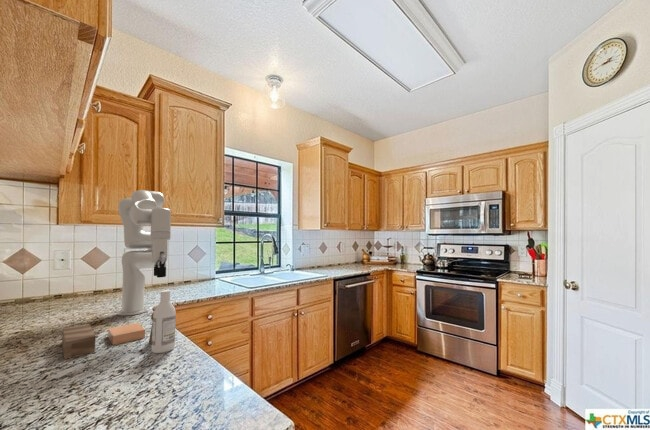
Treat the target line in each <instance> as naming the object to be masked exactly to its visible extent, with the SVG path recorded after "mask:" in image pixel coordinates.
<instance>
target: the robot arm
mask: <svg viewBox="0 0 650 430" xmlns="http://www.w3.org/2000/svg"><path fill="white" fill-rule="evenodd" d="M164 204H165V196H164V194H163V193H161V192H160V191H153V190H145V189H139V190H135V191H133V192H132V194H131V197H129V198H128V197H127V198H126V197H125V198H122V199H120V201H119V202H118V213H119V217H120V219H121V223H122V224H123V239H124V240H123V241H124V246H125V248H126V249H129V251H126V252H124V253H123V254H122V255H121V265H122V291H121V308H120V310H118V311H117V312H116V313H117V315H118V316H124V317H125V316H135V315H140V314H143V313H146V312H147V311H148V308H147V307H144V305H145V285H146V282H145V281H146V278H145V277H146V276H145V274H144V273H143V272H142V271H141V270H144V269H153V276H154V277H156V278H166V277H167V263H166V262H167V261H168V252H169V251H168V244H169V243H168V242H169V241H170V240H171V236H172V235H171V232H172V231H171V230H172V229H171V227H172V225H171V224H172V223H171V221H172V211H171V209H170V208H166V207H163V206H164ZM143 226H144V227H150V231H144V229H143V228H144V227H143ZM168 240H169V241H168ZM142 249H143V250H142ZM146 249H147V250H146ZM130 250H131V251H130Z"/></svg>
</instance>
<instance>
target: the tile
mask: <svg viewBox="0 0 650 430" xmlns="http://www.w3.org/2000/svg"><path fill="white" fill-rule="evenodd" d="M107 338H108V339H109V341H110V342H111V344H112V346H114V345H118V344H122V343H126V342H127V343H128V342H131V341H135V340H136V341H137V340H140V339H145V338H146V328H144V327H143V326H142V325H141V324H140V323H139V322H135V323H130V324H125V325H120V326H119V325H118V326H114V327H109V328H108V329H107Z"/></svg>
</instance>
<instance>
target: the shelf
mask: <svg viewBox="0 0 650 430" xmlns="http://www.w3.org/2000/svg"><path fill="white" fill-rule="evenodd" d="M61 337H62V338H61V346H62V352H63V353H62V354H63V357H64V359H70V358H74V357H79V356H84V355H88V354H90V353H91V354H92V353H95V352H96V334H95V332H94V330H93V328H92V326H91V324H90V323H86V324H81V325H75V326H68V327H63V328H62V335H61Z"/></svg>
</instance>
